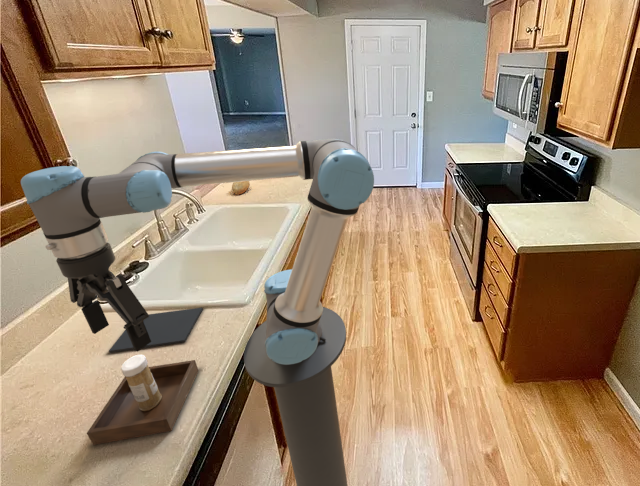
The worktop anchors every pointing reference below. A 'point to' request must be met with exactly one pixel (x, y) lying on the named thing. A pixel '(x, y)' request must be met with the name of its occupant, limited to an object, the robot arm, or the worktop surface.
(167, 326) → the mat
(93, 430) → the tray
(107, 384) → the worktop surface
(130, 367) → the sprinkles bottle
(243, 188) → the bread roll
